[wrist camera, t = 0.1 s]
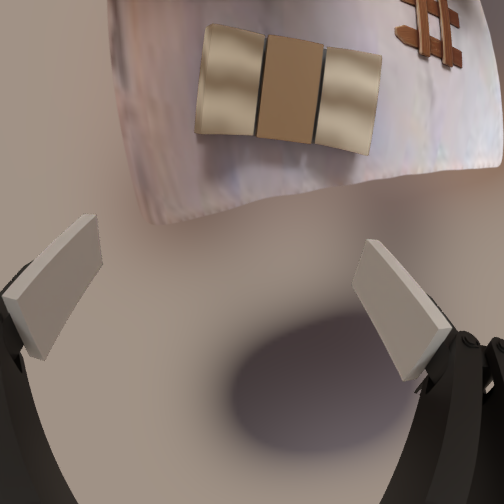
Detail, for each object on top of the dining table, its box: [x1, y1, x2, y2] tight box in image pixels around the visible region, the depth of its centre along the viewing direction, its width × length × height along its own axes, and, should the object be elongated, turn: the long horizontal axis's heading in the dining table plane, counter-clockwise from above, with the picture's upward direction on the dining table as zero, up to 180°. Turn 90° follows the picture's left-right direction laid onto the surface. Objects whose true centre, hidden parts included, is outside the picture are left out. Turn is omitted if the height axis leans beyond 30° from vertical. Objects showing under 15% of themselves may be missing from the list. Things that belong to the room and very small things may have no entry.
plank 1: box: [194, 24, 265, 135], centre depth 28 cm, size 14×7×2 cm, turn 174°
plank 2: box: [315, 47, 382, 156], centre depth 30 cm, size 14×7×2 cm, turn 174°
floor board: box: [251, 35, 327, 144], centre depth 32 cm, size 14×23×4 cm, turn 84°
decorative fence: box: [395, 0, 462, 68], centre depth 24 cm, size 23×2×15 cm
